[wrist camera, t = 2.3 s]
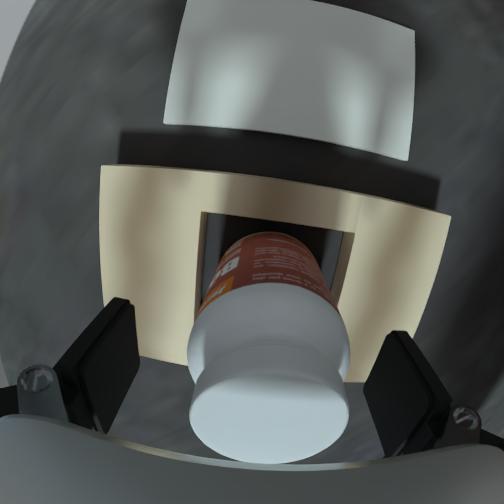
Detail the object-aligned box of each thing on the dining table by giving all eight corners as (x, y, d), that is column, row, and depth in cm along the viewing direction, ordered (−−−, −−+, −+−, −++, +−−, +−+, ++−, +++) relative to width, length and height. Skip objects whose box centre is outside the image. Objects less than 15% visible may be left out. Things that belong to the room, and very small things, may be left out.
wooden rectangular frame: (434, 210, 16) (451, 216, 14) (384, 365, 20) (392, 381, 18) (117, 164, 16) (101, 165, 14) (121, 332, 20) (109, 347, 18)
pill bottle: (227, 218, 17) (167, 317, 6) (330, 242, 17) (414, 360, 6) (209, 311, 19) (161, 455, 8) (301, 330, 19) (327, 478, 8)
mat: (410, 33, 12) (414, 30, 12) (403, 160, 15) (407, 160, 14) (191, -3, 12) (189, -8, 12) (166, 124, 15) (163, 123, 15)
